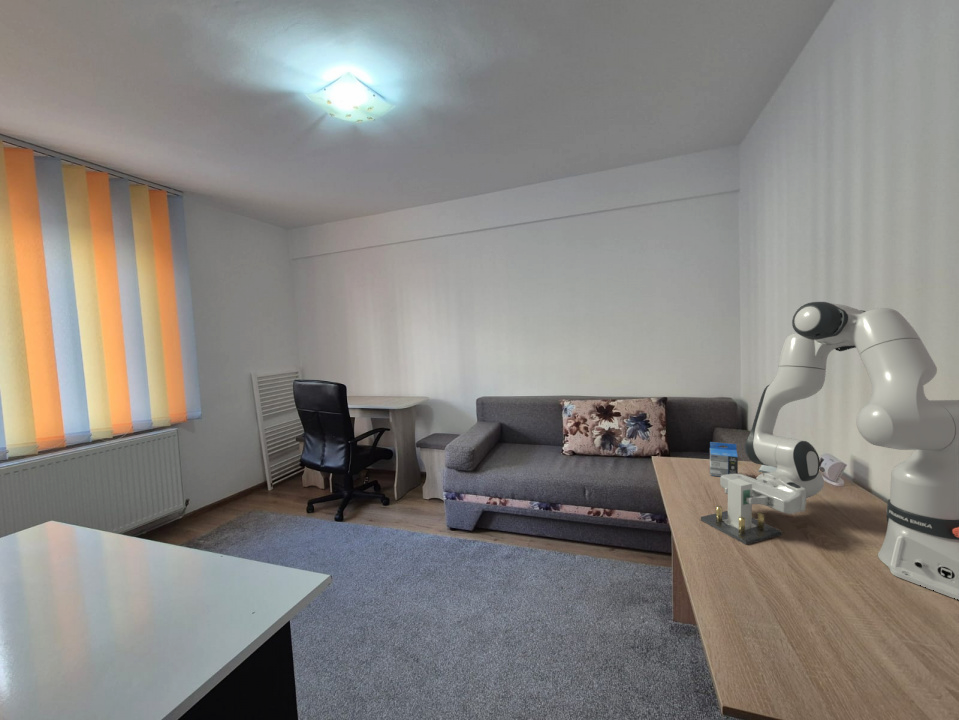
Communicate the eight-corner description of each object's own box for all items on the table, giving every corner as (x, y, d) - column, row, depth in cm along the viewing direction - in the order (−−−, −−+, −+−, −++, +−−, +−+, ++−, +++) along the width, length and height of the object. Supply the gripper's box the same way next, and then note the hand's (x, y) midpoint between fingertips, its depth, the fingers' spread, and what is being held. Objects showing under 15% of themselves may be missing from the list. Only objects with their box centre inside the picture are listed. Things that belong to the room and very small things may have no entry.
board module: (751, 525, 107) (752, 483, 107) (740, 528, 106) (741, 486, 105) (738, 518, 111) (738, 478, 110) (727, 521, 110) (727, 480, 109)
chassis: (781, 535, 104) (782, 517, 104) (745, 544, 100) (745, 526, 100) (734, 512, 118) (734, 496, 117) (700, 520, 114) (700, 503, 113)
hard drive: (785, 474, 142) (789, 465, 151) (758, 469, 147) (763, 460, 156) (785, 479, 142) (789, 469, 151) (758, 474, 147) (763, 464, 156)
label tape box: (710, 475, 146) (710, 444, 145) (709, 472, 150) (709, 441, 149) (737, 479, 142) (738, 446, 141) (736, 475, 146) (736, 443, 145)
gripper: (740, 466, 122) (705, 472, 118) (812, 491, 102) (773, 499, 98) (739, 485, 122) (705, 492, 118) (811, 513, 103) (773, 523, 99)
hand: (737, 496), depth 108 cm, fingers open, 5 cm apart
